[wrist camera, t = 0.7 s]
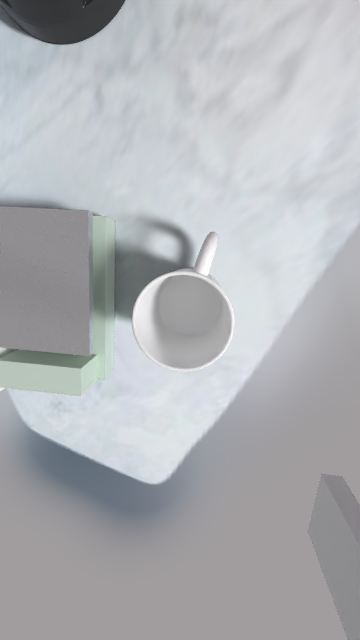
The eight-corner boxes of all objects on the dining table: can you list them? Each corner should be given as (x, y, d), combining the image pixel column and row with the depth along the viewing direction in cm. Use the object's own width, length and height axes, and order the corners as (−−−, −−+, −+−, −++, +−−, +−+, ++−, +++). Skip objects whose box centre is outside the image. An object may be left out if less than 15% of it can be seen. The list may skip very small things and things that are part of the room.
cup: (146, 324, 32) (119, 352, 22) (177, 225, 30) (163, 206, 20) (210, 347, 32) (212, 385, 22) (248, 249, 29) (270, 243, 19)
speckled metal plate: (8, 211, 28) (-15, 205, 25) (100, 216, 27) (88, 210, 24) (17, 339, 31) (-3, 347, 28) (101, 347, 30) (89, 356, 27)
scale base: (22, 215, 31) (-30, 202, 24) (115, 220, 30) (88, 208, 23) (32, 368, 35) (-10, 394, 28) (113, 376, 34) (91, 405, 27)
